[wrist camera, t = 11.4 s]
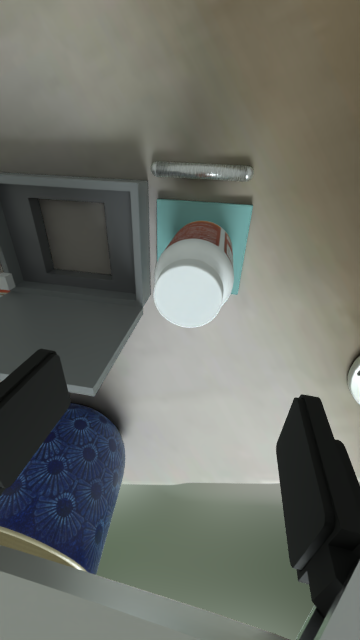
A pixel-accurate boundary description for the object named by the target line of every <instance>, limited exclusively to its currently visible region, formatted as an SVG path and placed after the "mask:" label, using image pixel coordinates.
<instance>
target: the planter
mask: <svg viewBox="0 0 360 640" xmlns="http://www.w3.org/2000/svg"><path fill="white" fill-rule="evenodd" d="M124 467H125V448H124V443H123V440H122V437H121V435H120V433H119V431H118V429H117V428H116V426H115V425H114V424H113V423H112V422H111V421H110V420H109V419H108V418H107V417H106V416H104V415H103V414H101V413H100V412H98V411H96V410H94V409H92V408H89V407H87V406H83V405H79V404H72V403H70V405H69V408H68V409H67V411H66V412H65V413H64V415H63V416H62V417H61V419H60V420H59V422H58V423H57V424H56V426H55V427H54V428H53V430H52V431H51V432H50V434H49V435H48V437H47V438H46V439H45V441H44V442H43V443H42V445H41V446H40V447H39V449H38V450H37V452H36V453H35V454H34V456H33V457H32V458H31V460H30V461H29V462H28V464H27V465H26V467H25V468H24V469H23V471H22V472H21V473H20V475H19V476H18V477H17V479H16V480H15V482H14V483H13V484H12V485H11V486H10V487H9V488H6V489H5V490H4V491H3V493H2V494H1V495H0V545H2V546H6V547H9V548H12V549H15V550H18V551H22V552H25V553H28V554H31V555H35V556H38V557H41V558H44V559H47V560H50V561H54V562H57V563H60V564H63V565H66V566H69V567H73V568H76V569H79V570H82V571H85V572H88V573H91V574H95V575H96V573H97V569H98V565H99V562H100V558H101V555H102V551H103V547H104V544H105V540H106V537H107V533H108V529H109V526H110V522H111V518H112V514H113V511H114V508H115V504H116V500H117V497H118V493H119V490H120V486H121V482H122V478H123V473H124Z"/></svg>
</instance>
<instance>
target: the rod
mask: <svg viewBox="0 0 360 640" xmlns="http://www.w3.org/2000/svg"><path fill="white" fill-rule="evenodd" d="M151 172H152V174H153V175H154V176H157V177H173V178H191V179H210V180H228V181H249V180H250V179H251V178H252V177H253V174H254V171H253V169H252V167H250V166H244V165H223V164H202V163H181V162H159V161H156V162H154V163H153V164H152V165H151Z"/></svg>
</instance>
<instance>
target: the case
mask: <svg viewBox="0 0 360 640" xmlns="http://www.w3.org/2000/svg"><path fill="white" fill-rule="evenodd" d="M38 198H40V199H55V200H69V201H83V202H98V203H104V208H105V217H106V227H107V236H108V246H109V255H110V264H111V274H112V275H107V274H97V273H87V272H78V271H68V270H59V269H54V266H53V262H52V257H51V253H50V249H49V244H48V240H47V235H46V231H45V227H44V222H43V218H42V214H41V209H40V205H39V200H38ZM0 263H1V266H2V269H3V272H4V273H0V289H2V290H10V292H8V293H7V294H5V295H3V296H1V297H0V381H3V380H4V379H5V378H6V377H7V376H9V375H10V374H11V373H12V372H13V371H14V370H15V369H17V368H18V367H19V366H20V365H21V364H22V363H23V362H25V361H26V360H27V359H28V358H29V357H30V356H31V355H33V354H34V353H35V352H36V351H37V350H39V349H47V350H52V351H55V352H56V353H57V355H58V356H59V357H60V360H61V364H62V368H63V372H64V376H65V380H66V384H67V388H68V392H71V393H77V394H83V395H89V396H95V395H96V393H97V391H98V390H99V388H100V386H101V384H102V383H103V381H104V379H105V378H106V376H107V374H108V373H109V371H110V369H111V367H112V366H113V364H114V362H115V361H116V359H117V357H118V356H119V354H120V352H121V350H122V349H123V347H124V345H125V344H126V342H127V340H128V339H129V337H130V335H131V333H132V332H133V330H134V328H135V327H136V325H137V323H138V322H139V320H140V318H141V316H142V315H143V306H144V305H145V303H146V301H147V300H148V298H149V297H150V295H151V289H150V244H149V199H148V181H144V180H126V179H109V178H91V177H74V176H56V175H38V174H21V173H3V172H0Z"/></svg>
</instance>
